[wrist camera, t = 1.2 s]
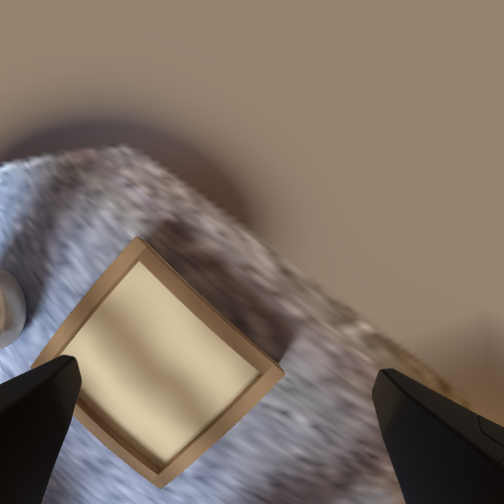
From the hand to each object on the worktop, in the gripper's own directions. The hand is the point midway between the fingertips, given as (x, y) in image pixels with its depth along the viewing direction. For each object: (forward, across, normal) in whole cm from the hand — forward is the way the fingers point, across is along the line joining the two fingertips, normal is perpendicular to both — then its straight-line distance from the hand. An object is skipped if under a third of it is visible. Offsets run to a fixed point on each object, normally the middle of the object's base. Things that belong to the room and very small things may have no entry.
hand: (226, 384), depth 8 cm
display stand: (+12, +5, +9) cm, 16 cm away
